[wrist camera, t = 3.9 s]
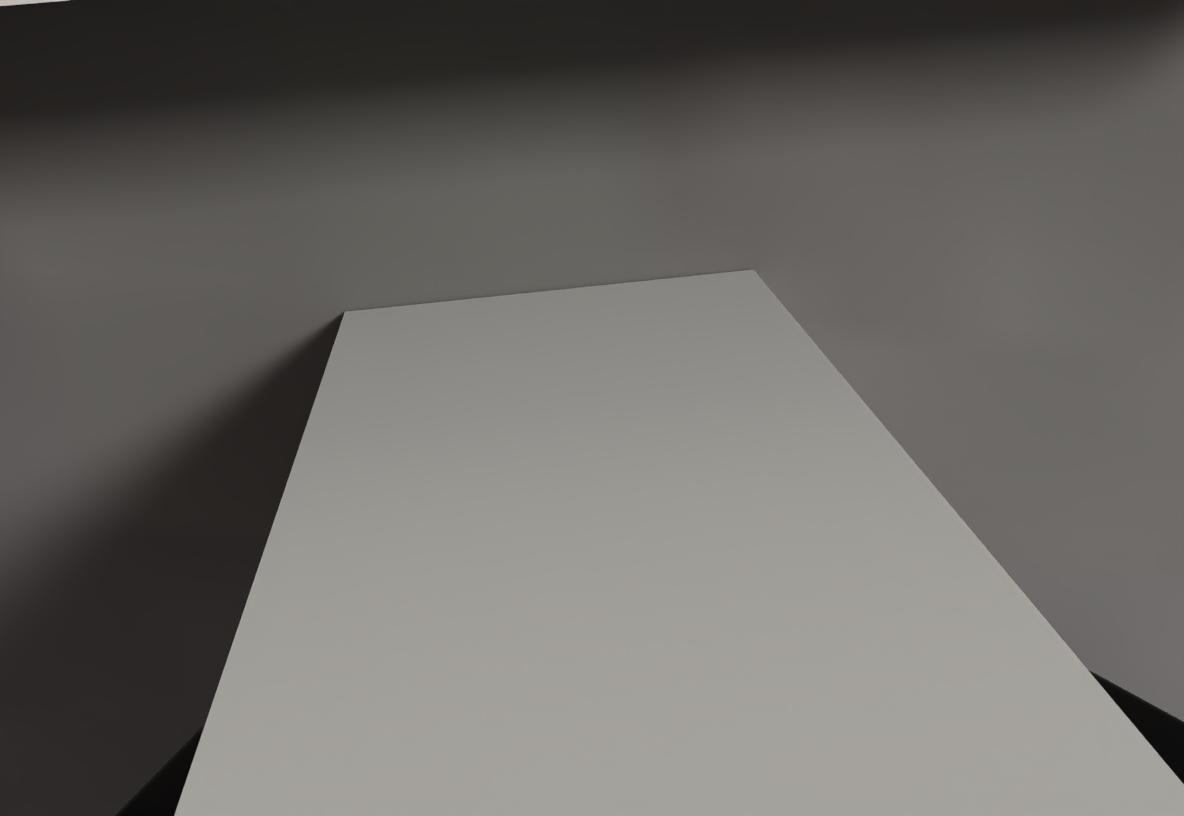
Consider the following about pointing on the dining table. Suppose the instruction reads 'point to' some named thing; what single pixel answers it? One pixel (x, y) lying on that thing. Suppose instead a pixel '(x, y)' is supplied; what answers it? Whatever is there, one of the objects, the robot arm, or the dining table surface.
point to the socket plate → (24, 2)
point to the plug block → (636, 590)
